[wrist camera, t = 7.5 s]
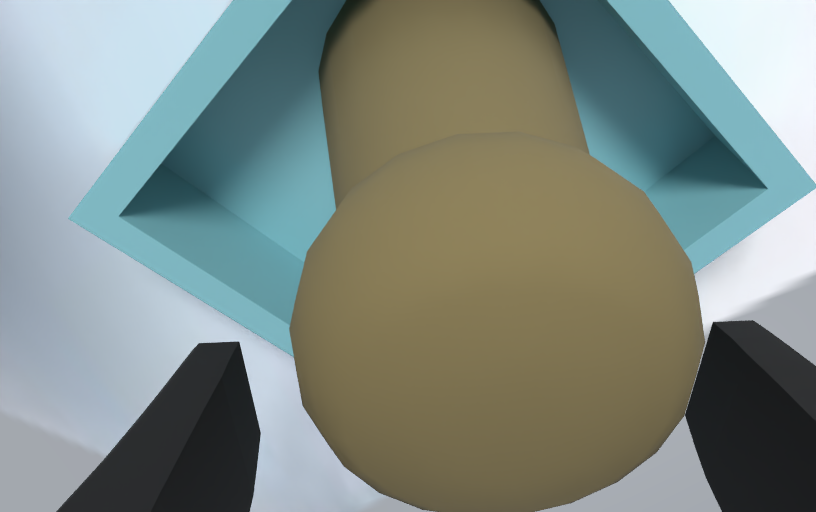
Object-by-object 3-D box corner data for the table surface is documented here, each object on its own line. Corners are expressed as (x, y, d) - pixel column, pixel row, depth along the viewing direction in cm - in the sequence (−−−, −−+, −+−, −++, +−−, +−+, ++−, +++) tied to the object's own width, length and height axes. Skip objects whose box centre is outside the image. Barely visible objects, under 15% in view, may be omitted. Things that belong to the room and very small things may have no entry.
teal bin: (747, 124, 18) (817, 186, 15) (436, 367, 23) (444, 449, 20) (430, -262, 13) (444, -279, 10) (119, 151, 18) (67, 218, 15)
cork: (597, 127, 17) (836, 492, 8) (394, 226, 19) (404, 627, 10) (501, -104, 14) (715, 69, 5) (268, 37, 16) (106, 365, 7)
